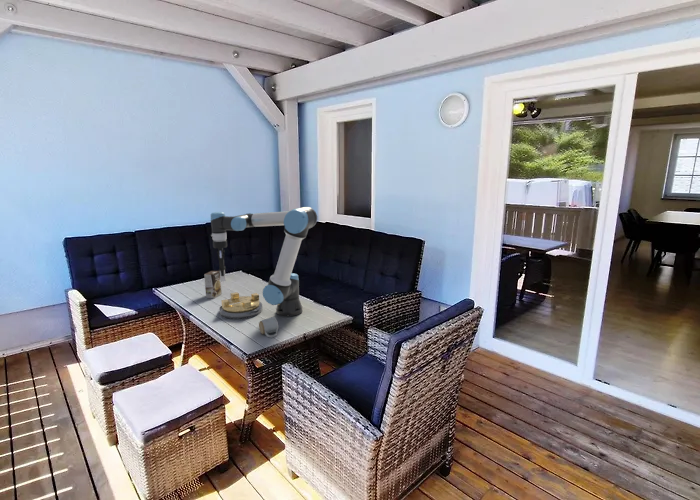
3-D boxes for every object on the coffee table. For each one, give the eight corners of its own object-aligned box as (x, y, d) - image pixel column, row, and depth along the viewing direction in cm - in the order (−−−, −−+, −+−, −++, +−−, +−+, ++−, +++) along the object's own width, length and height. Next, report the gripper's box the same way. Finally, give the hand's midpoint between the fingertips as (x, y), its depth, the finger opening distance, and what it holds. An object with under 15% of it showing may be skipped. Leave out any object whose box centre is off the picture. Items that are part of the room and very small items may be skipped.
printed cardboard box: (214, 298, 236) (212, 274, 233) (205, 298, 237) (203, 274, 234) (222, 294, 245) (220, 270, 241) (213, 293, 246) (211, 270, 243)
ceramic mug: (258, 331, 188) (257, 317, 186) (273, 328, 192) (272, 314, 190) (265, 340, 179) (265, 325, 177) (281, 335, 184) (281, 321, 182)
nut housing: (264, 303, 228) (264, 298, 227) (260, 318, 205) (259, 313, 204) (224, 305, 225) (224, 300, 224) (215, 320, 202) (215, 315, 201)
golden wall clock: (231, 299, 226) (231, 290, 224) (264, 300, 223) (264, 292, 222) (215, 312, 205) (214, 302, 204) (251, 314, 203) (250, 304, 202)
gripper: (213, 238, 208) (216, 278, 213) (211, 242, 196) (215, 284, 201) (227, 237, 210) (230, 277, 215) (226, 241, 198) (230, 283, 203)
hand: (223, 280), depth 208 cm, fingers closed
